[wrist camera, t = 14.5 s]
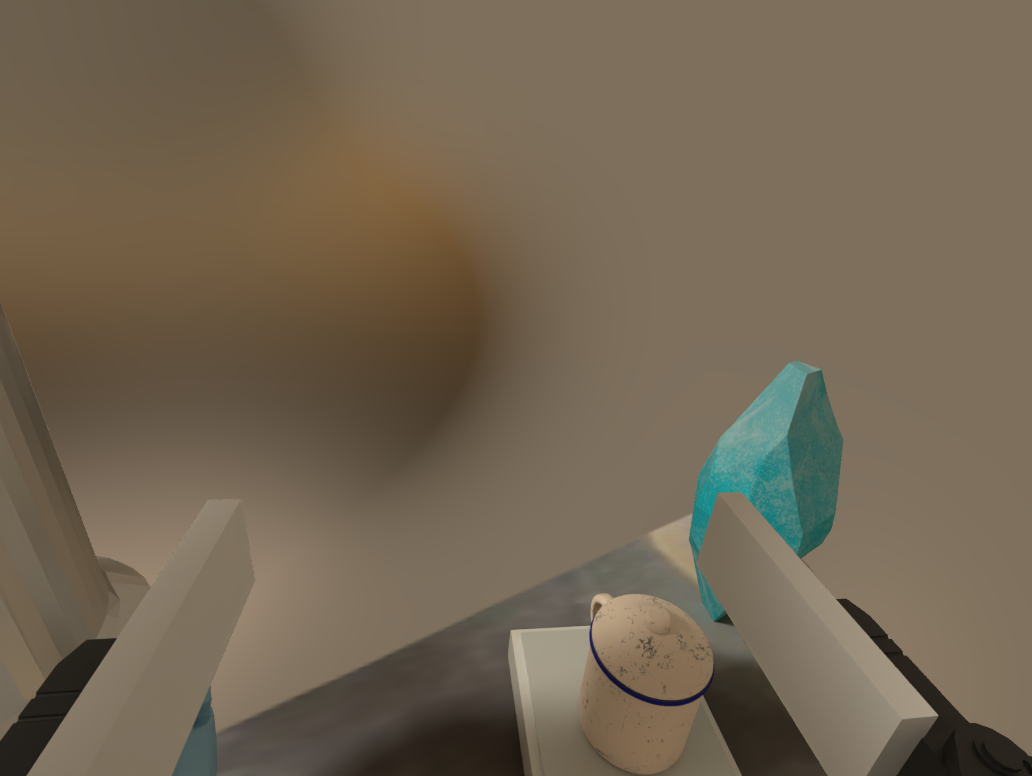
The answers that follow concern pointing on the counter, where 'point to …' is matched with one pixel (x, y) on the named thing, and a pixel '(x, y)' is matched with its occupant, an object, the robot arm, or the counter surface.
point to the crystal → (776, 466)
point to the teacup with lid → (642, 681)
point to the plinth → (555, 718)
